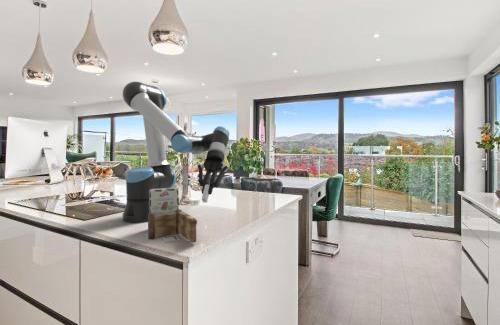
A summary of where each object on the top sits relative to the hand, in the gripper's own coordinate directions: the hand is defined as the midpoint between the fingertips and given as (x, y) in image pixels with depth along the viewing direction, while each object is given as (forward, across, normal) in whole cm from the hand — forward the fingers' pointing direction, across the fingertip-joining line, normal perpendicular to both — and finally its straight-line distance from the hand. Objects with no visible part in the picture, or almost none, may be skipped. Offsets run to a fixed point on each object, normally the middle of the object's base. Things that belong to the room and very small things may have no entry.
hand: (204, 200), depth 106 cm
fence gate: (+13, +4, -4) cm, 15 cm away
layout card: (+15, +10, -4) cm, 18 cm away
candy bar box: (+6, +18, -14) cm, 23 cm away
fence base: (+12, +13, -7) cm, 19 cm away
